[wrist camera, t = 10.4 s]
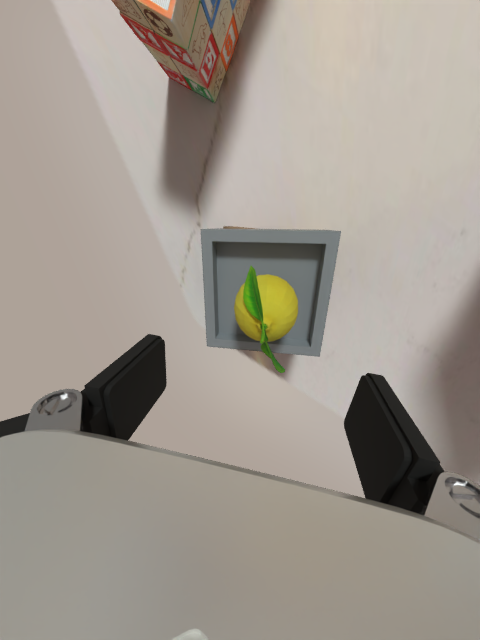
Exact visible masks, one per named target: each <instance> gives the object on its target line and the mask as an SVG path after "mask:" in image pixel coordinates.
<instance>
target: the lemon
mask: <svg viewBox="0 0 480 640" xmlns="http://www.w3.org/2000/svg"><path fill="white" fill-rule="evenodd" d="M234 312H235V318H236V321H237V323H238V325H239V327H240V329H241V330H242V331H243V332H244V333H245V334H246V335H247V336H248V337H250V338H252V339H254V340H257V341H260V343H261V344H262V345H261V350H262V351H263V352H264V353H265V354H266V355H267V356H268V357H269V358H271V359H272V362H273V364H274V366H275V368H276V370H277V371H279V372H280V373H284V372H285V369H284V368H283V367H282V366H281V365H280V364H279V363H278V362H277V360H276V359H275V357H274V355H273V353H272V351H271V349H270V347H269V345H268V343H267V342H271V341H275V340H278V339H280V338H282V337H283V336H284V335H286V334H287V333H288V332H289V331H290V330H291V328H292V327H293V326H294V324H295V322H296V318H297V315H298V299H297V296H296V294H295V291H294V289H293V288H292V287H291V286H290V284H289V283H288V282H287V281H285V280H284V279H282V278H280V277H278V276H274V275H269V274H266V275H258V276H256V271H255V269H254V268H253V267H252V266H250V269H249V272H248V274H247V278H246V281H245V283H244V284H243V285H242V286H241V287H240V289H239V291H238V293H237V295H236V299H235V305H234ZM263 342H264V343H263Z"/></svg>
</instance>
